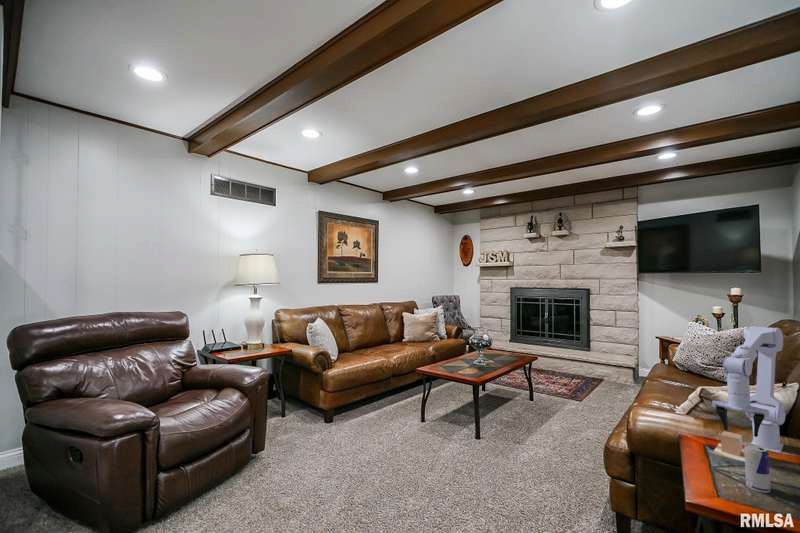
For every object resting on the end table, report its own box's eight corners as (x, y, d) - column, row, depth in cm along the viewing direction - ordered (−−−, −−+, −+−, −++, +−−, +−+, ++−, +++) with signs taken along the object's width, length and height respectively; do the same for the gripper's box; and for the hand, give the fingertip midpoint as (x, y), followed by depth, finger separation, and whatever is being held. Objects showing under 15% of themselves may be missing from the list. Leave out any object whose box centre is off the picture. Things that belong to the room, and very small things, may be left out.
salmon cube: (724, 447, 139) (723, 430, 140) (742, 451, 136) (741, 434, 136) (721, 451, 136) (720, 434, 136) (740, 456, 132) (739, 438, 133)
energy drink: (775, 494, 110) (773, 452, 110) (754, 492, 111) (752, 450, 111) (762, 484, 115) (760, 444, 115) (741, 483, 116) (739, 443, 116)
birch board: (719, 443, 144) (719, 442, 144) (751, 451, 137) (751, 450, 137) (712, 454, 135) (711, 452, 135) (745, 462, 128) (745, 461, 128)
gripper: (709, 390, 133) (711, 429, 133) (766, 400, 122) (768, 442, 122) (713, 386, 138) (715, 424, 138) (768, 395, 127) (771, 436, 127)
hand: (740, 432), depth 130 cm, fingers open, 7 cm apart
